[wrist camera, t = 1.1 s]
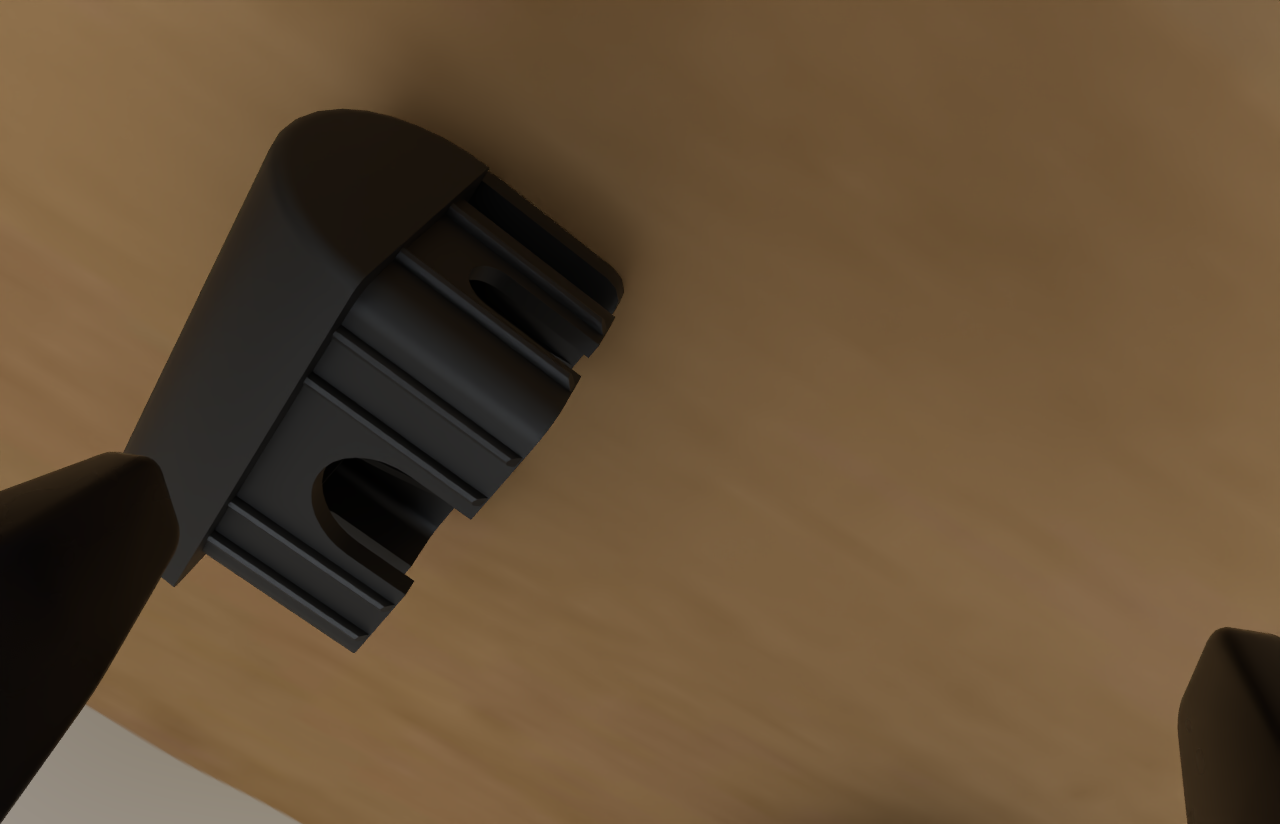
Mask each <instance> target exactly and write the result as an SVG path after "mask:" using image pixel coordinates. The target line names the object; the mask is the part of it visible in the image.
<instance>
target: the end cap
mask: <svg viewBox="0 0 1280 824" xmlns="http://www.w3.org/2000/svg"><path fill="white" fill-rule="evenodd" d="M488 170H489V167H487V166H486V165H485V164H483V163H482V162H480V161H479V160H478V159H476V158H475V157H473V156H472V155H471V154H469V153H468V152H466V151H465V150H463V149H461V148H460V147H458V146H456V145H455V144H453V143H451V142H449V141H448V140H446V139H444V138H443V137H441V136H438V135H436V134H434V133H432V132H430V131H428V130H426V129H424V128H421V127H419V126H417V125H414V124H412V123H409V122H406V121H403V120H400V119H397V118H394V117H392V116H387V115H383V114H378V113H374V112H370V111H362V110H350V109H336V110H325V111H317V112H314V113H311V114H309V115H306V116H303V117H300V118H298V119H296V120H294V121H293V122H292V123H291V124H289V125H288V126H287V127H285V128H284V129H283V130H282V131H281V132H280V133H279V134H278V136H277V137H276V139H275V141H274V143H273V144H272V146H271V148H270V149H269V151H268V153H267V155H266V158H265V160H264V162H263V164H262V166H261V168H260V170H259V172H258V174H257V176H256V178H255V180H254V182H253V184H252V187H251V189H250V191H249V193H248V195H247V197H246V199H245V201H244V203H243V205H242V207H241V209H240V211H239V214H238V216H237V218H236V220H235V222H234V224H233V226H232V228H231V230H230V232H229V234H228V236H227V238H226V240H225V243H224V245H223V247H222V249H221V251H220V253H219V255H218V257H217V259H216V261H215V263H214V265H213V267H212V269H211V272H210V274H209V276H208V278H207V280H206V282H205V284H204V286H203V288H202V290H201V292H200V294H199V296H198V299H197V301H196V303H195V305H194V307H193V309H192V311H191V313H190V315H189V317H188V319H187V321H186V323H185V325H184V328H183V330H182V332H181V334H180V336H179V338H178V340H177V342H176V344H175V346H174V348H173V350H172V352H171V355H170V357H169V359H168V361H167V363H166V365H165V367H164V369H163V371H162V373H161V375H160V377H159V379H158V381H157V384H156V386H155V388H154V390H153V392H152V394H151V396H150V398H149V400H148V402H147V404H146V406H145V408H144V410H143V413H142V415H141V417H140V419H139V421H138V423H137V425H136V427H135V429H134V431H133V433H132V435H131V437H130V440H129V442H128V444H127V446H126V448H125V450H124V452H123V453H128V454H135V455H141V456H146V457H149V458H151V459H153V460H154V461H155V462H156V463H157V464H158V465H159V466H160V468H161V470H162V472H163V475H164V479H165V482H166V485H167V488H168V491H169V494H170V497H171V501H172V504H173V507H174V510H175V513H176V516H177V519H178V523H179V527H180V537H179V543H178V546H177V549H176V552H175V554H174V556H173V557H172V559H171V561H170V563H169V564H168V566H167V568H166V569H165V571H164V573H163V575H162V576H161V577H162V578H163V579H164V580H166V581H167V582H168V583H169V584H171V585H172V586H173V587H175V586H176V585H177V584H178V583H179V582H180V581H181V580H182V579H183V578H184V577H185V576H186V575H187V574H188V573H189V572H190V571H191V569H192V568H193V567H194V566H195V565H196V564H197V563H198V562H199V561H200V560H201V559H202V558H203V557H204V555H205V554H207V555H208V556H210V557H211V558H213V559H214V560H216V561H217V562H219V563H220V564H222V565H223V566H225V567H226V568H228V569H229V570H231V571H232V572H234V573H235V574H237V575H238V576H240V577H241V578H243V579H244V580H246V581H247V582H249V583H250V584H252V585H253V586H254V587H256V588H257V589H259V590H260V591H262V592H263V593H265V594H266V595H268V596H269V597H271V598H272V599H274V600H275V601H277V602H278V603H280V604H281V605H283V606H284V607H286V608H287V609H289V610H290V611H292V612H293V613H295V614H296V615H298V616H299V617H301V618H302V619H304V620H305V621H307V622H308V623H310V624H311V625H312V626H314V627H315V628H317V629H318V630H320V631H321V632H323V633H324V634H326V635H327V636H329V637H330V638H332V639H333V640H335V641H336V642H338V643H339V644H341V645H342V646H344V647H345V648H347V649H348V650H350V651H351V652H353V653H355V652H356V651H357V650H358V649H359V648H360V647H361V645H362V644H363V643H364V642H365V641H366V640H367V639H368V637H369V636H370V635H371V634H372V633H373V632H374V631H375V629H376V628H377V627H378V626H379V625H380V624H381V622H382V621H383V620H384V619H385V618H386V617H387V616H388V614H389V613H390V612H391V611H392V610H393V609H394V608H395V606H396V605H397V604H398V603H399V602H400V601H401V600H402V598H403V597H404V596H405V595H406V593H407V592H408V590H409V589H410V587H411V585H412V584H413V582H414V580H412V579H411V578H409V577H408V576H406V575H405V573H406V572H407V571H408V569H409V568H410V567H411V566H412V564H413V563H414V561H415V560H416V558H417V557H418V555H419V554H420V552H421V550H422V549H423V547H424V546H425V544H426V543H427V541H428V540H429V538H430V537H431V536H432V534H433V533H434V531H435V530H436V529H437V528H438V526H439V525H440V524H441V523H442V522H443V521H444V519H445V518H446V517H447V516H448V515H449V513H450V512H451V511H452V510H453V509H454V508H455V509H457V510H458V511H459V512H461V513H462V514H464V515H465V516H466V517H468V518H469V519H472V518H473V517H474V516H475V515H476V513H477V512H478V511H479V510H480V509H481V508H482V507H483V505H484V504H485V503H486V502H487V501H488V500H489V499H490V497H491V496H492V495H493V494H494V493H495V492H496V490H497V489H498V488H499V487H500V486H501V485H502V484H503V482H504V481H505V480H506V479H507V478H508V477H509V476H510V474H511V473H512V472H513V471H514V470H515V469H516V468H517V466H518V465H519V464H520V463H521V462H522V461H523V460H524V458H525V457H526V456H527V455H528V454H529V453H530V451H531V450H532V449H533V448H534V447H535V446H536V444H537V443H538V442H539V441H540V440H541V438H542V437H543V436H544V435H545V433H546V432H547V431H548V429H549V428H550V427H551V425H552V424H553V423H554V421H555V420H556V418H557V417H558V415H559V414H560V412H561V411H562V409H563V407H564V406H565V404H566V402H567V400H568V399H569V397H570V395H571V393H572V392H573V390H574V388H575V387H576V385H577V383H578V381H579V380H580V378H581V376H580V375H579V374H577V373H576V372H575V371H573V370H572V368H573V366H574V365H575V364H576V363H577V362H578V361H579V359H580V358H581V357H582V356H583V355H585V356H587V357H588V358H589V357H590V355H591V354H592V353H593V352H594V351H595V350H596V348H597V347H598V346H599V345H600V343H601V341H602V340H603V338H604V336H605V334H606V333H607V331H608V329H609V327H610V326H611V324H612V322H613V320H614V318H615V316H614V315H612V314H613V312H614V311H615V309H616V307H617V306H618V304H619V302H620V300H621V298H622V295H623V293H624V289H623V284H622V279H621V278H620V276H619V275H618V274H617V273H616V271H615V270H614V269H613V268H612V267H611V266H610V265H608V264H607V263H606V262H605V261H603V260H602V259H601V258H600V257H598V256H597V255H596V254H595V253H593V252H592V251H591V250H589V249H588V248H587V247H586V246H584V245H583V244H582V243H581V242H579V241H578V240H577V239H575V238H574V237H573V236H572V235H570V234H569V233H568V232H567V231H565V230H564V229H563V228H561V227H560V226H559V225H558V224H556V223H555V222H554V221H553V220H551V219H550V218H549V217H547V216H546V215H545V214H544V213H542V212H541V211H540V210H539V209H537V208H536V207H535V206H533V205H532V204H531V203H530V202H528V201H527V200H526V199H525V198H523V197H522V196H521V195H519V194H518V193H517V192H516V191H514V190H513V189H512V188H511V187H509V186H508V185H507V184H505V183H504V182H503V181H502V180H500V179H499V178H498V177H496V176H494V175H493V174H491V173H490V172H488Z"/></svg>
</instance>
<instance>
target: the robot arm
mask: <svg viewBox="0 0 1280 824" xmlns="http://www.w3.org/2000/svg"><path fill="white" fill-rule="evenodd" d="M179 537H180V527H179V523H178V519H177V516H176V513H175V510H174V507H173V504H172V501H171V497H170V494H169V491H168V488H167V485H166V482H165V479H164V475H163V472H162V470H161V468H160V466H159V465H158V464H157V463H156V462H155V461H154V460H153V459H151V458H149V457H146V456H141V455H135V454H128V453H122V452H107V453H103V454H100V455H97V456H95V457H92V458H89V459H87V460H84V461H81V462H78V463H76V464H73V465H70V466H67V467H65V468H62V469H59V470H57V471H54V472H51V473H48V474H46V475H43V476H40V477H38V478H35V479H32V480H29V481H27V482H24V483H21V484H18V485H16V486H13V487H10V488H8V489H5V490H2V491H0V823H1V822H2V821H3V820H4V818H5V816H6V815H7V814H8V812H9V811H10V810H11V808H12V807H13V805H14V804H15V802H16V801H17V800H18V799H19V797H20V796H21V794H22V793H23V791H24V790H25V789H26V787H27V786H28V784H29V783H30V782H31V780H32V779H33V777H34V776H35V775H36V773H37V772H38V770H39V769H40V768H41V766H42V765H43V763H44V762H45V761H46V759H47V758H48V756H49V755H50V754H51V752H52V751H53V749H54V748H55V747H56V745H57V744H58V742H59V741H60V740H61V738H62V737H63V735H64V734H65V733H66V731H67V730H68V728H69V727H70V726H71V724H72V723H73V721H74V720H75V719H76V717H77V716H78V714H79V713H80V711H81V710H82V709H83V707H84V706H85V704H86V703H87V701H88V700H89V698H90V697H91V695H92V694H93V692H94V691H95V689H96V688H97V686H98V684H99V683H100V681H101V679H102V678H103V676H104V675H105V673H106V671H107V670H108V668H109V666H110V665H111V663H112V661H113V659H114V658H115V656H116V654H117V653H118V651H119V649H120V647H121V646H122V644H123V642H124V640H125V639H126V637H127V635H128V633H129V632H130V630H131V628H132V627H133V625H134V623H135V621H136V620H137V618H138V616H139V614H140V613H141V611H142V609H143V608H144V606H145V604H146V602H147V601H148V599H149V597H150V595H151V594H152V592H153V590H154V589H155V587H156V585H157V583H158V582H159V580H160V578H161V576H162V575H163V573H164V571H165V569H166V568H167V566H168V564H169V563H170V561H171V559H172V557H173V556H174V554H175V552H176V549H177V546H178V543H179ZM1178 738H1179V748H1180V757H1181V767H1182V777H1183V786H1184V796H1185V805H1186V815H1187V824H1280V637H1278V636H1276V635H1273V634H1268V633H1262V632H1256V631H1249V630H1243V629H1237V628H1230V627H1224V628H1220V629H1218V630H1216V631H1215V632H1214V633H1213V634H1212V635H1211V636H1210V637H1209V639H1208V641H1207V643H1206V645H1205V648H1204V650H1203V652H1202V654H1201V657H1200V659H1199V661H1198V663H1197V666H1196V668H1195V670H1194V673H1193V675H1192V677H1191V679H1190V682H1189V684H1188V686H1187V688H1186V691H1185V693H1184V695H1183V698H1182V700H1181V704H1180V708H1179V714H1178Z"/></svg>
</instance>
